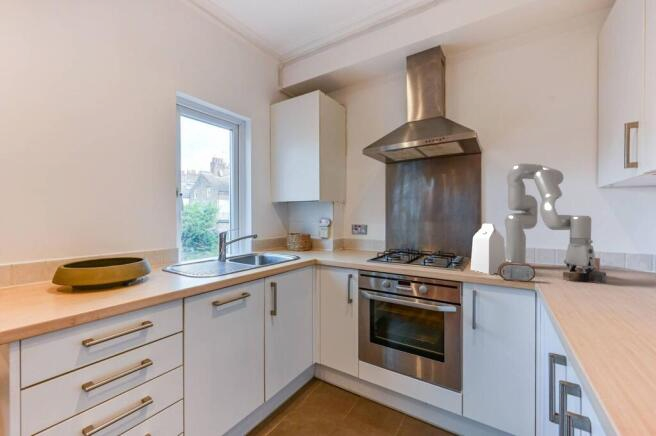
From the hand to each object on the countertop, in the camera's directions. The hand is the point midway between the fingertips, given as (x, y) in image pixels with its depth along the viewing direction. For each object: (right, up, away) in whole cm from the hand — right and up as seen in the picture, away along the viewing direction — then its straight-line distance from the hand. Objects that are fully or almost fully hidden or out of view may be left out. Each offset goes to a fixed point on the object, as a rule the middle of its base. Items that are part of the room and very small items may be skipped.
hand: (579, 279), depth 134 cm
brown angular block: (-1, -1, 0) cm, 1 cm away
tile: (+11, 0, +8) cm, 14 cm away
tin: (-30, -1, 0) cm, 30 cm away
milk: (-32, 0, +19) cm, 38 cm away
